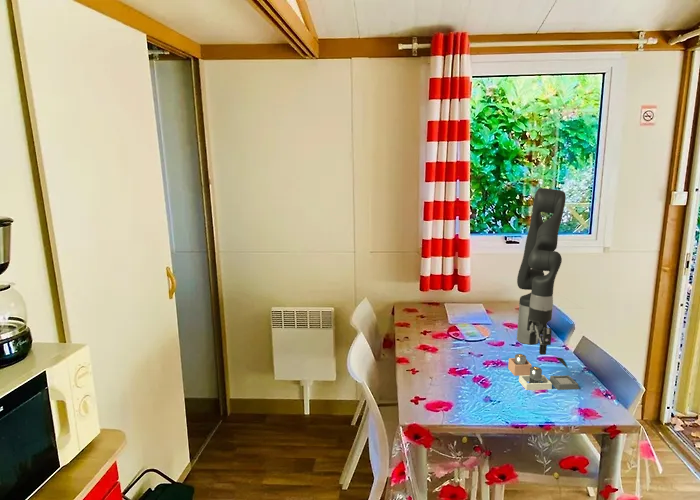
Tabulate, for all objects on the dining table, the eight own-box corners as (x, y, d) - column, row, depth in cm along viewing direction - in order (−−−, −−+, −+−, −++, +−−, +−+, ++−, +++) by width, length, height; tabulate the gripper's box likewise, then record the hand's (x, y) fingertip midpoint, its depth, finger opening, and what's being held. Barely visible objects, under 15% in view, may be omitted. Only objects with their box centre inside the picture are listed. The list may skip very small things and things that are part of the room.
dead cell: (512, 369, 191) (513, 352, 189) (522, 369, 191) (523, 352, 190) (516, 374, 187) (517, 357, 186) (526, 373, 187) (527, 356, 186)
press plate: (554, 380, 180) (554, 378, 180) (566, 380, 181) (567, 377, 181) (560, 386, 176) (560, 383, 176) (573, 386, 176) (573, 383, 176)
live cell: (527, 383, 180) (528, 365, 179) (537, 382, 181) (539, 365, 179) (531, 388, 176) (533, 370, 175) (542, 387, 177) (544, 369, 175)
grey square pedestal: (548, 382, 182) (548, 375, 181) (569, 382, 182) (569, 375, 182) (557, 391, 175) (557, 384, 174) (579, 391, 175) (579, 384, 175)
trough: (518, 383, 182) (519, 375, 181) (542, 382, 182) (543, 374, 182) (526, 392, 175) (526, 384, 174) (551, 391, 176) (552, 383, 175)
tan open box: (508, 370, 192) (508, 358, 191) (523, 369, 193) (524, 357, 192) (514, 377, 186) (515, 365, 185) (530, 377, 186) (531, 364, 185)
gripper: (522, 299, 179) (519, 341, 182) (539, 313, 165) (535, 357, 169) (542, 299, 179) (538, 340, 183) (560, 312, 165) (556, 357, 169)
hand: (537, 349), depth 176 cm, fingers open, 8 cm apart
